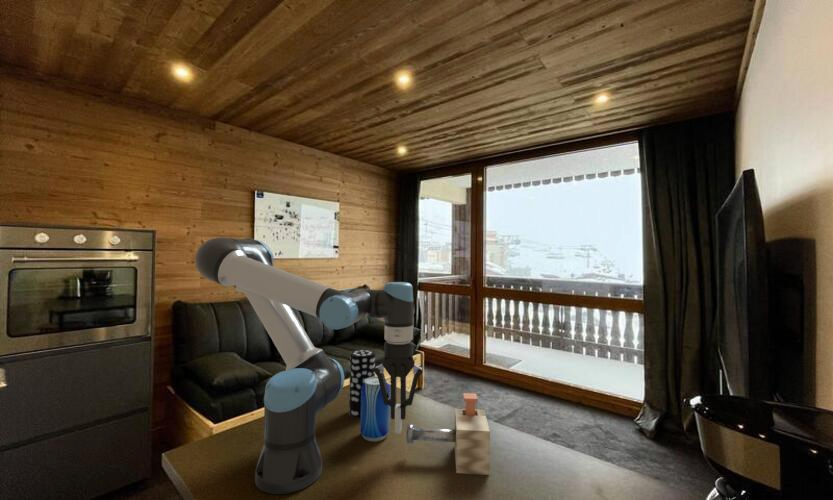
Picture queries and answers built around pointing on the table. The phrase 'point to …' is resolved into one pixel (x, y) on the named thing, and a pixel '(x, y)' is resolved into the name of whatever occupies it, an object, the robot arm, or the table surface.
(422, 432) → the pin
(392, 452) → the table surface
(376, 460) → the table surface
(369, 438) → the beer can
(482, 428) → the block
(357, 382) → the spotted tube
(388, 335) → the robot arm
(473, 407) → the plunger
